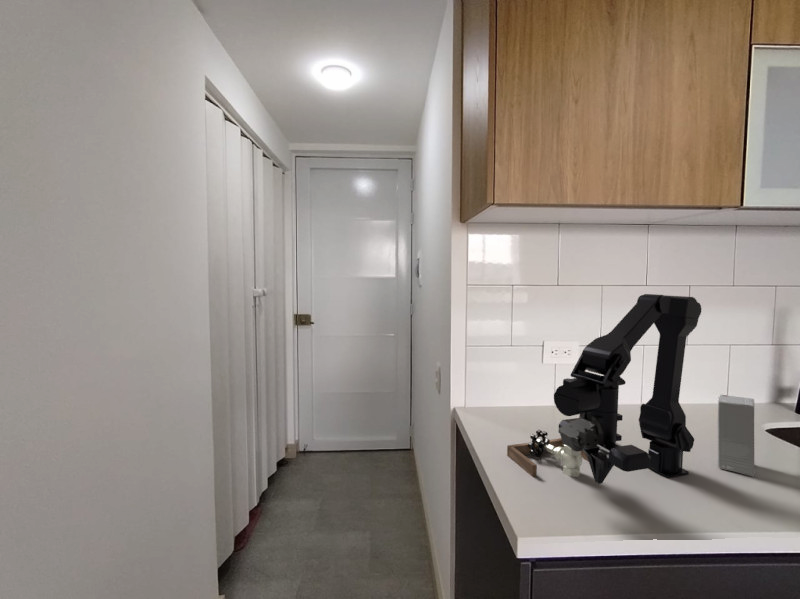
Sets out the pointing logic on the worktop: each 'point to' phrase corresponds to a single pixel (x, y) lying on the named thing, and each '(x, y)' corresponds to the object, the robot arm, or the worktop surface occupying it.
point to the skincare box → (736, 434)
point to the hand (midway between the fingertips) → (598, 482)
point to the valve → (557, 453)
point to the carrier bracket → (520, 450)
